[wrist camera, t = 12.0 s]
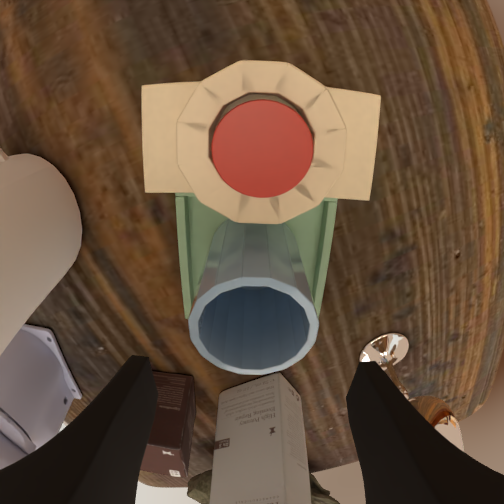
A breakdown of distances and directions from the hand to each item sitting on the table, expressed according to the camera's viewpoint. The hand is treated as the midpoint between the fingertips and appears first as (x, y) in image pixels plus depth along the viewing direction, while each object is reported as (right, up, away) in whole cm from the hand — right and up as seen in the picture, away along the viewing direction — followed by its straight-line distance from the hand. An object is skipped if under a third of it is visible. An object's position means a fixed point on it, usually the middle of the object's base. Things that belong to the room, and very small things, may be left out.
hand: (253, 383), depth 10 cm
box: (-8, -8, +16) cm, 19 cm away
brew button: (0, +8, +1) cm, 8 cm away
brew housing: (0, +11, +6) cm, 12 cm away
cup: (0, +4, +8) cm, 10 cm away
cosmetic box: (+1, -8, +16) cm, 17 cm away
